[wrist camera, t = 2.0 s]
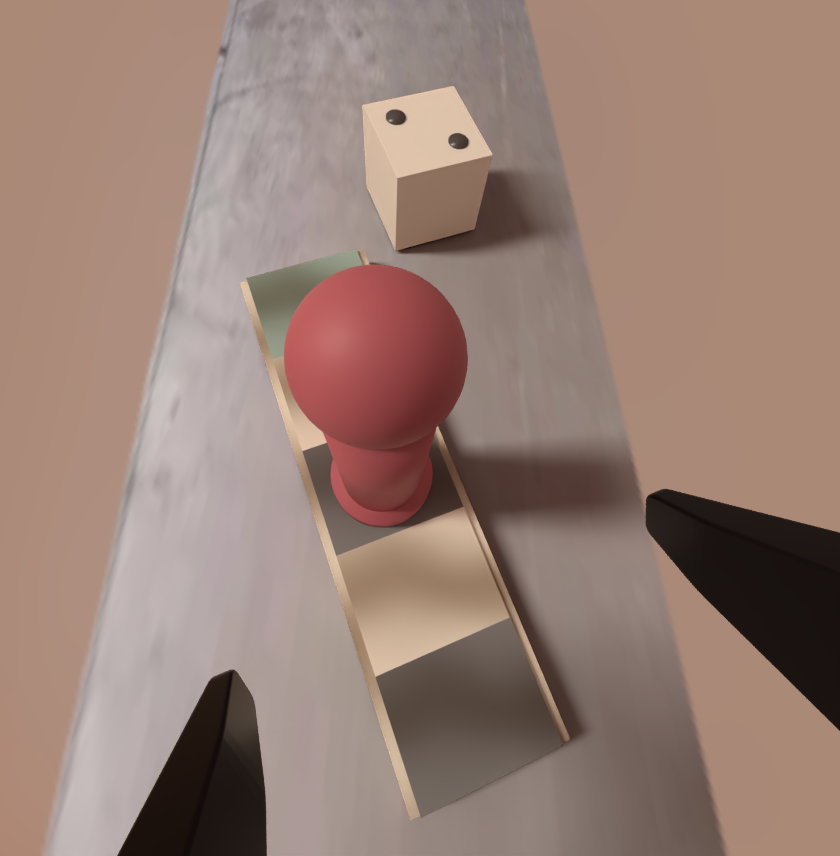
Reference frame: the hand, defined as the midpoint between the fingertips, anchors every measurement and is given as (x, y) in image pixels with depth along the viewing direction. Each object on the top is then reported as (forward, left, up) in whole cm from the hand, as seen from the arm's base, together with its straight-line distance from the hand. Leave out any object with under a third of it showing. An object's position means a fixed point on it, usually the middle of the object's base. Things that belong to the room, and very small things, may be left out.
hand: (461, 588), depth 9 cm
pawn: (+5, 0, -11) cm, 12 cm away
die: (+20, -8, -12) cm, 25 cm away
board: (+5, 0, -12) cm, 13 cm away
